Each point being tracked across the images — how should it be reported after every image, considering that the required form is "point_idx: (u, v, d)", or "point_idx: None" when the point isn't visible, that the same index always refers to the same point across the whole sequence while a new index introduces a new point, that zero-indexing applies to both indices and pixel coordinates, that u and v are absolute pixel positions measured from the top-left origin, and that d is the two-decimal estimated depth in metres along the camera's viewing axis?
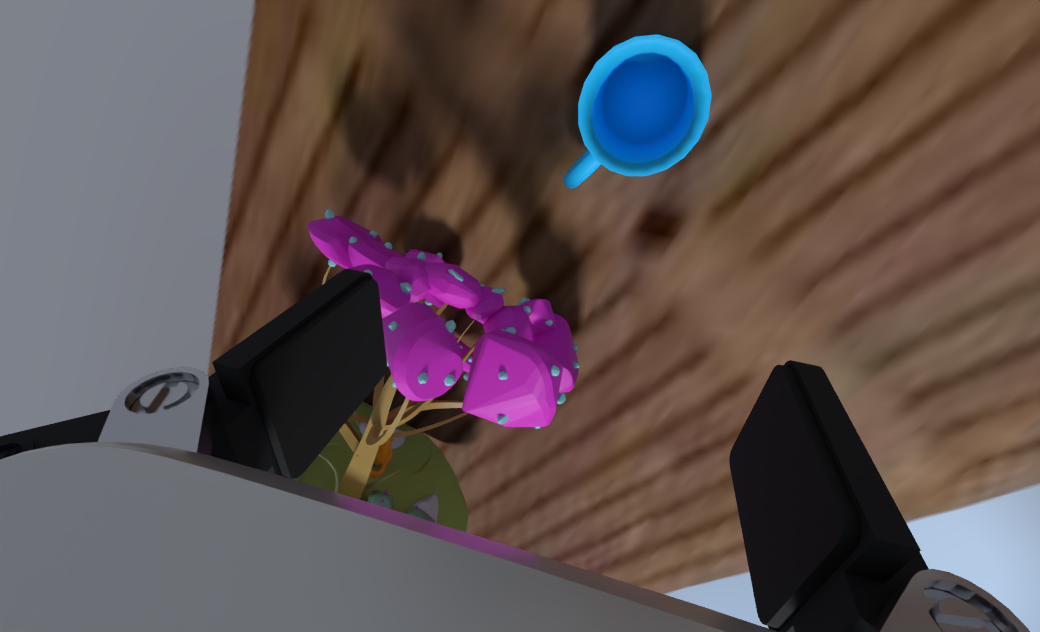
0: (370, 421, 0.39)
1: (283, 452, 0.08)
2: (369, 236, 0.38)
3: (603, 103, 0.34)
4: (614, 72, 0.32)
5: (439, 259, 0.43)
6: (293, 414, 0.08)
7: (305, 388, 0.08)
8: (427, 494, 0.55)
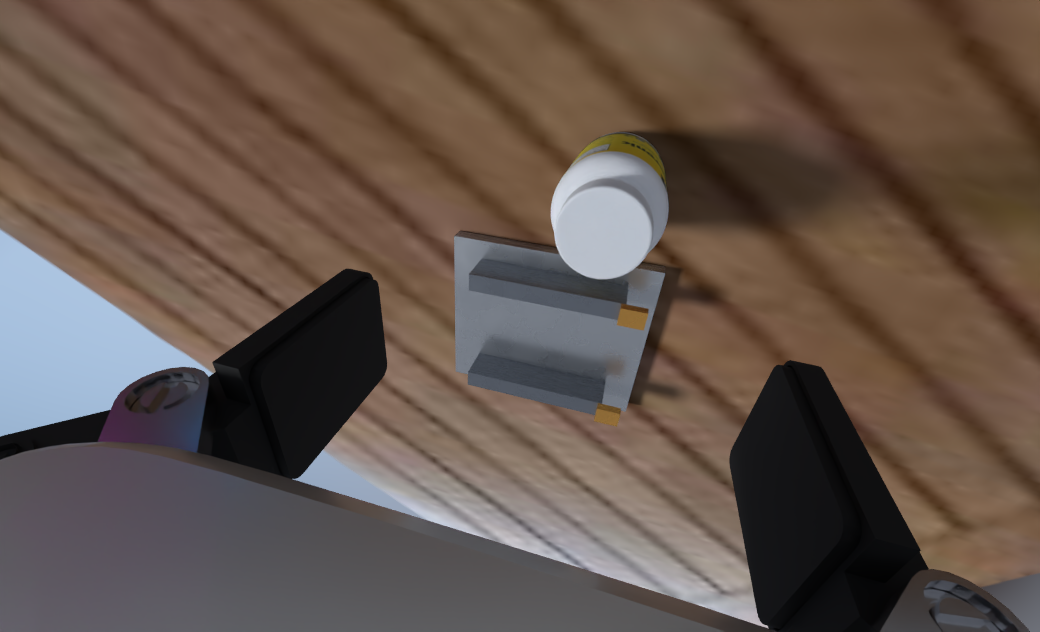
0: None
1: (283, 452, 0.08)
2: None
3: None
4: None
5: None
6: (293, 414, 0.08)
7: (305, 388, 0.08)
8: None
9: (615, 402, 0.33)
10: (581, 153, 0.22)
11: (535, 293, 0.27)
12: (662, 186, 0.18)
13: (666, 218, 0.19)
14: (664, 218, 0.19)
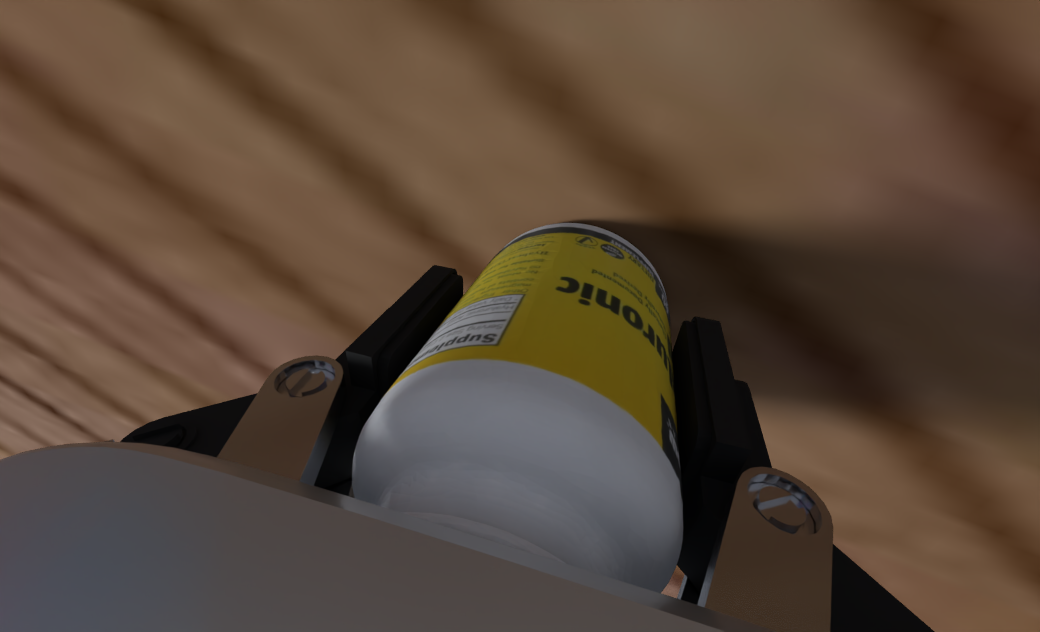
0: None
1: None
2: None
3: None
4: None
5: None
6: None
7: None
8: None
9: None
10: (471, 288, 0.09)
11: None
12: (665, 487, 0.06)
13: (676, 561, 0.06)
14: (670, 570, 0.06)
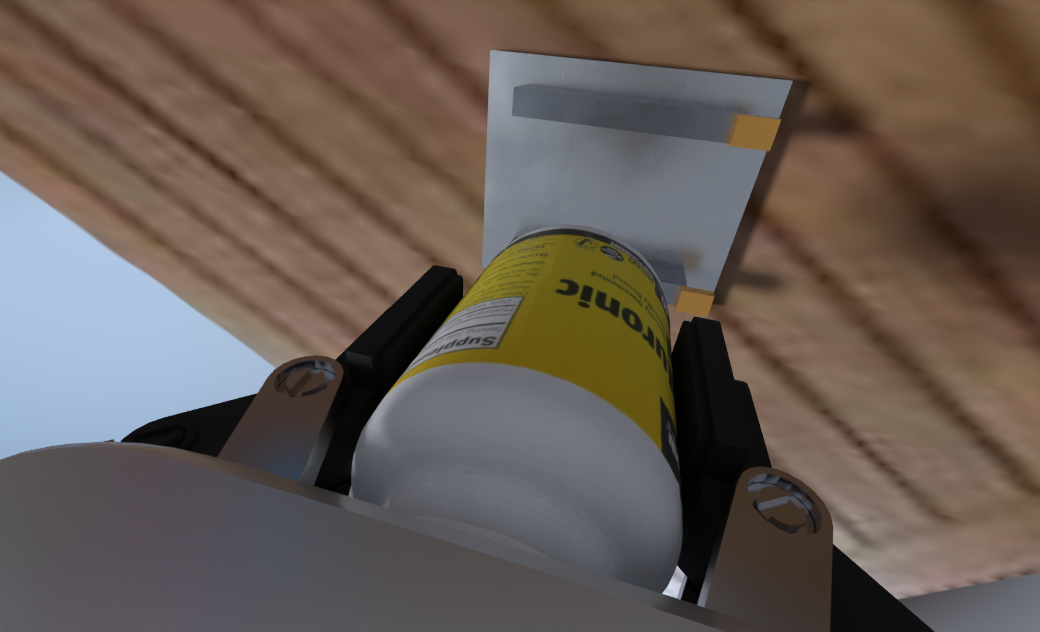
0: None
1: None
2: None
3: None
4: None
5: None
6: None
7: None
8: None
9: None
10: (471, 290, 0.09)
11: (608, 109, 0.19)
12: (664, 491, 0.06)
13: (675, 564, 0.06)
14: (669, 573, 0.06)
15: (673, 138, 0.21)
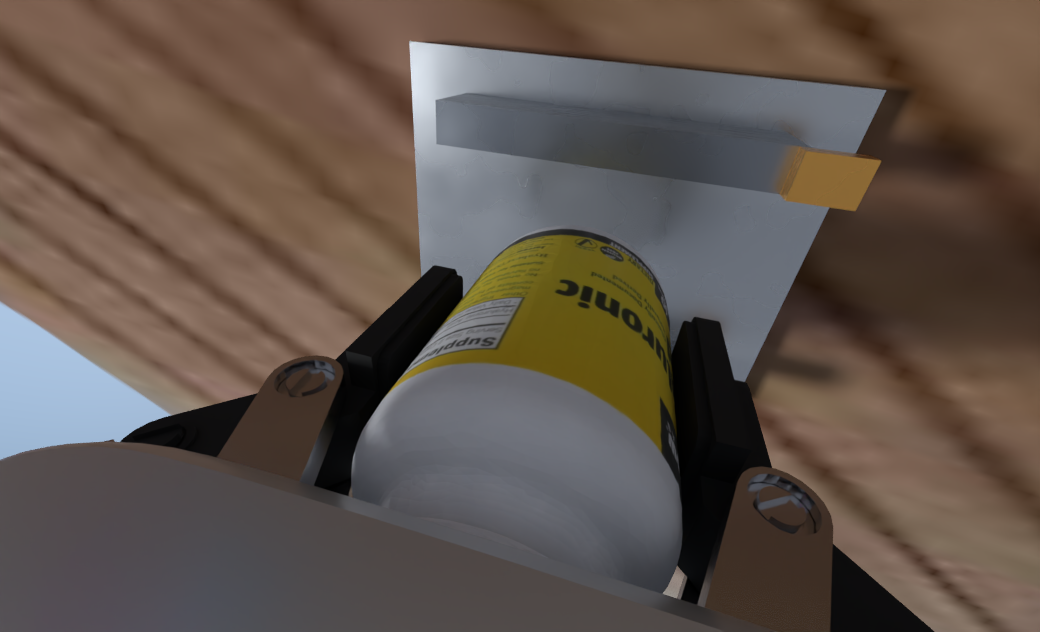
0: None
1: None
2: None
3: None
4: None
5: None
6: None
7: None
8: None
9: None
10: (471, 291, 0.09)
11: (584, 137, 0.12)
12: (664, 492, 0.06)
13: (675, 565, 0.06)
14: (669, 574, 0.06)
15: None
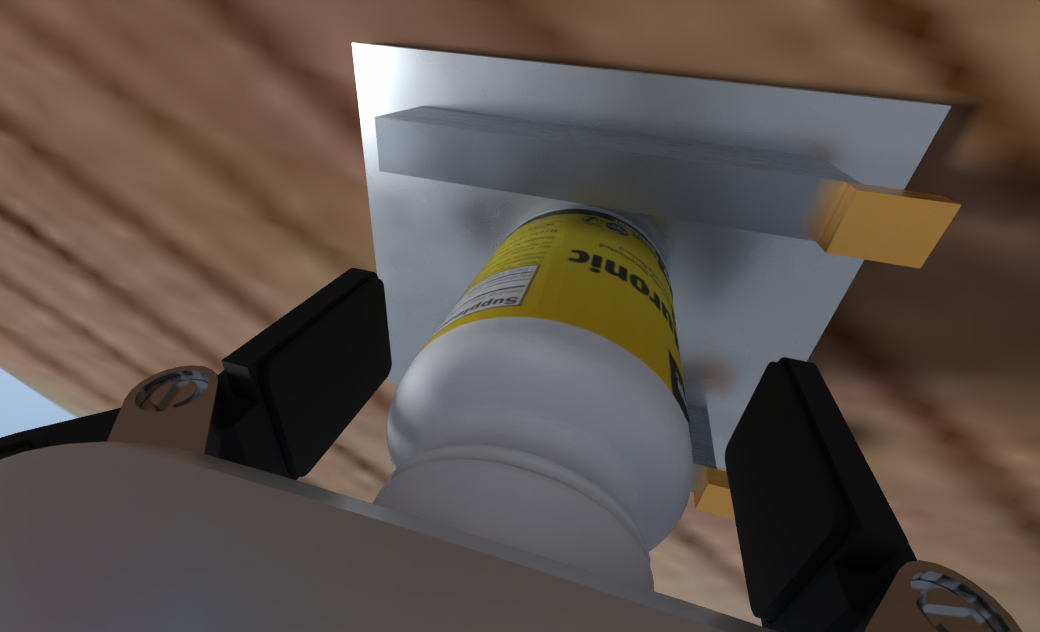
0: None
1: (291, 450, 0.08)
2: None
3: None
4: None
5: None
6: (300, 412, 0.08)
7: (312, 386, 0.08)
8: None
9: (723, 454, 0.15)
10: (486, 266, 0.10)
11: (563, 165, 0.09)
12: (676, 425, 0.06)
13: (688, 496, 0.07)
14: (683, 503, 0.07)
15: None
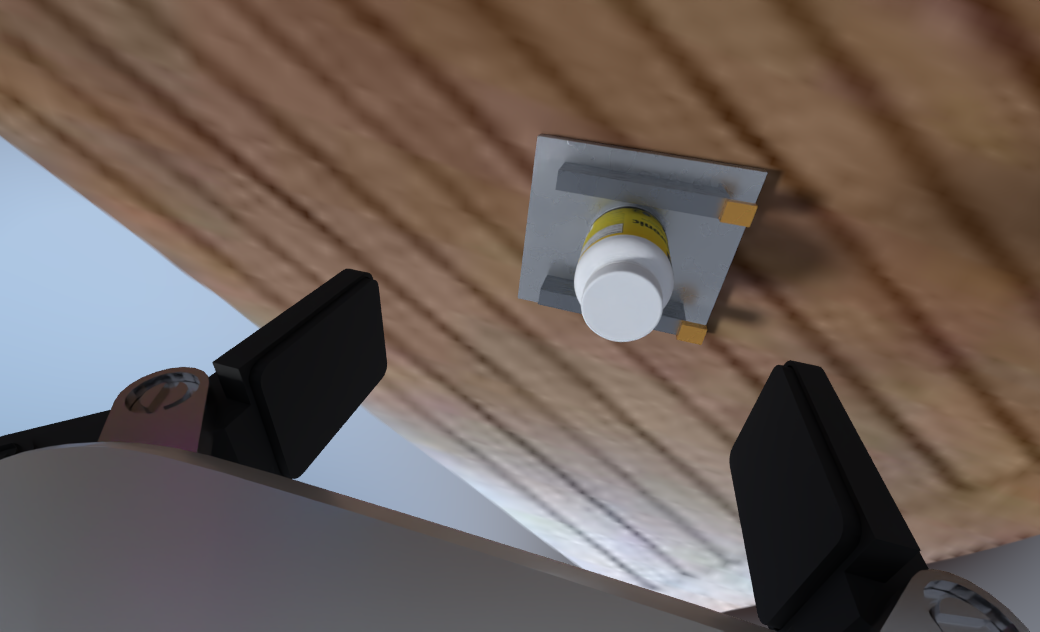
0: None
1: (283, 452, 0.08)
2: None
3: None
4: None
5: None
6: (293, 414, 0.08)
7: (305, 388, 0.08)
8: None
9: None
10: (597, 227, 0.26)
11: (630, 190, 0.25)
12: (668, 264, 0.22)
13: (672, 289, 0.23)
14: (670, 289, 0.23)
15: None
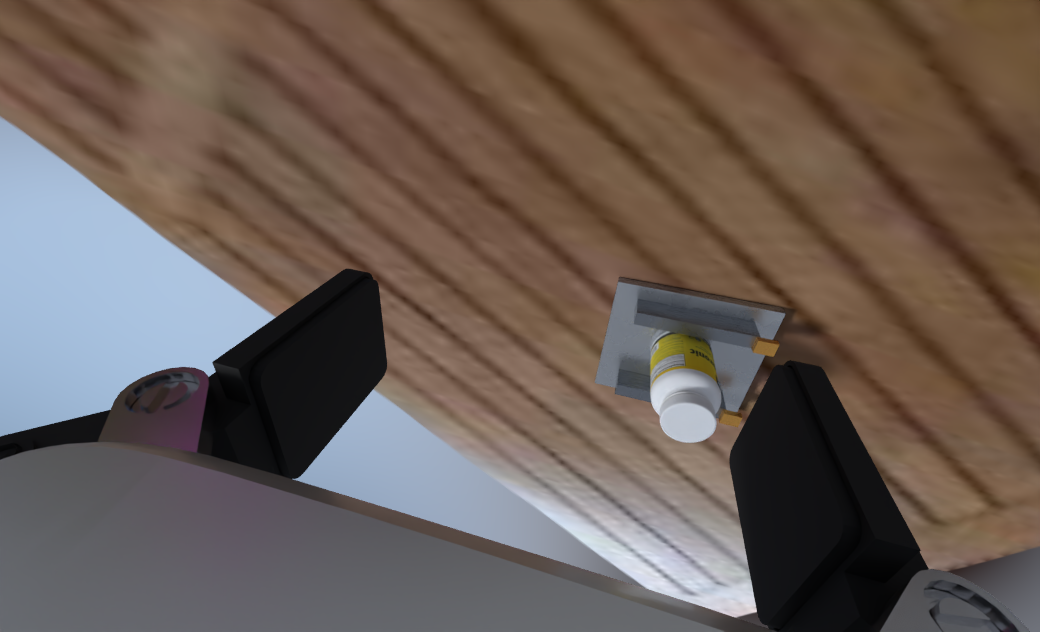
0: None
1: (283, 452, 0.08)
2: None
3: None
4: None
5: None
6: (293, 414, 0.08)
7: (305, 388, 0.08)
8: None
9: (728, 408, 0.42)
10: (663, 350, 0.37)
11: (688, 327, 0.36)
12: (718, 389, 0.33)
13: (720, 404, 0.34)
14: (719, 405, 0.34)
15: None
